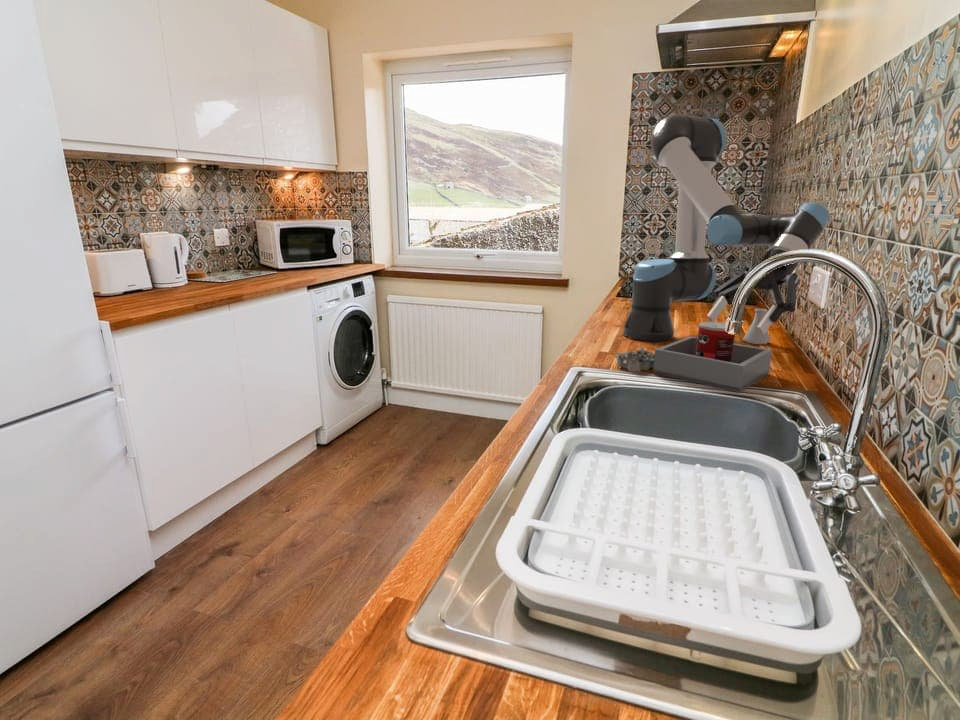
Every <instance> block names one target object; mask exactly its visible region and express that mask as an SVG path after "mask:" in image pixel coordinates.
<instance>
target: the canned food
mask: <svg viewBox="0 0 960 720" xmlns="http://www.w3.org/2000/svg"><path fill="white" fill-rule="evenodd" d="M725 323H726V322H721V321H720V322H719V321H715V322H710V321H702V322H699V326H698V331H697V337H698V338H697V347H696V355H695V356H700V357H705V358H711V359H716V360H721V361H726V362H731V357H732V351H733V344H735V343H734V342H735V335H736V334H735V335H730V334H728V333H727V332H725V331H724V325H725Z"/></svg>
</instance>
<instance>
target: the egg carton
mask: <svg viewBox="0 0 960 720" xmlns="http://www.w3.org/2000/svg"><path fill="white" fill-rule="evenodd" d="M654 357H655V352H651V351H650V350H648V351H647V350H646V349H645V348H644V347H642V348H640V349H637V350H633V351H632V350H630V351H629V352H623V353H620V352H618V353H617V352H616V354H615V355H614V358H615V359H617V362H616V366H617V368H618V367H624V368H623V369H626V368H628V369H627V370H630V371H629V372H635V371H639V372H641V370H645V371H647V370H650V368H653V367H654Z"/></svg>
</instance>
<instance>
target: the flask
mask: <svg viewBox="0 0 960 720" xmlns="http://www.w3.org/2000/svg"><path fill="white" fill-rule="evenodd" d="M754 311H755V312H754V313H755V314H754V318H753V321H752V322H751V325H750V326H749V328H748V330H747V331H746V333H745V335H744V336H743V339H742V341H744V342H745V343H749V344H752V345H753V344H754V345H768V344H767V343H770V342H771V339H770V335H769V331H768V330H769V329H768V330H767V331H766V332H765V334H764V335H763V334H761V333H760V331H759V330H758V328H757V326H758V325H759V323H760V322H761V320H762V319H763V318H764V316H765V315H766V313H767V312H768V311H769V309H768V310H767V309H765V308H755V309H754ZM770 344H771V343H770Z"/></svg>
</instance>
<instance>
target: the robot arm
mask: <svg viewBox="0 0 960 720" xmlns="http://www.w3.org/2000/svg"><path fill="white" fill-rule="evenodd" d="M727 139H728V138H727V132H726V128H725V126H724V125H723V124H722V122H721V121H719V120H718V119H716V118H712V117H709V116H697V115H685V114H676V113H675V114H671V115H668V116H666V117H665V118H663V119H662V120H660V121H659V122H658V123H657V124H656V126H655V127H654V129H653V131H652V133H651V139H650V147H651V151H652V153H653V156H654V157H655V159H656V161H657V162H658V163H659V165H660V166H661V167H665V168H667V169H668V171H669V172H670V173H671V174H672V176H673V178H674V179H675V180H676V181H677V183H678V194H677V210H676V211H677V214H676V229H675V248H674V252H673V254H671V255H670V256H669V258H657V259H647V260H641V261H639V262H637V264H636V265H635V267H634V270H633V274H632V275H633V276H632V279H633V281H632V293H631V294H632V295H631V303H630V304H631V305H630V312H629V314H628V317H627V319H626V321H625V324H624V325H623V331H622V334H624V335H626V336H628V337H627V338H629V337H631V338H630V339H633V338H635V339H634V340H638V339H639V341H648V342H662V341H672V340H673V339H674V336H675V335H674V334H675V331H674V330H675V329H674V325H673V321H672V316H671V308H672V302H679V301H680V302H681V301H692V302H693V301H696V300H701V299H704V298H706V297H708V295H709V294H710V293H711V292H712V291H713V292H714V294H715V296H716V297H717V298H716V299H715V301H714V302H713V303H712V305H711V307H712V308H711V309H710V310H709V312H708V313H707V315H706V317H707V318H708V320H709V322H716V321H717V320H718V317H719V316H720V315H721V313H722V312H723V310H724V309H725V308H726V306H727V305H728V304H729V302H728V301H729V300H731V299H733V298H735V297H734V295H735V293H736V291H737V289H738V287H739V285H740V284H741V282H742V281H743V279H744V278H745V276H746V275H747V274H748V273H749V272H750V270H751V269H749V266H744V267H743V268H742V269H741V270H740V271H739V273H737V274H736V275H734V276H733V277H731V278H730V279H729V280H726V282H724V283H723V284H721V285H719V286H718V287H717V288H716V289H714V288H715V286H716V281H717V272H716V270H715V269H714V266H713V265H712V264H711V263H710V256H709V255H708V254H707V253H706V251H705V248H706V233H707V239H708V241H709V242H710V243H711V244H713V245H715V246H721V247H734V246H735V247H736V246H737V247H738V246H757V247H758V246H760V247H762V246H770V247H769V249H768V251H766V253H765V254H764V256H763V257H762V258H761V260H760V261H759V264H760V263H761V262H762V261H764V260H766V259H768V258H769V257H771V256H774V255H776V254H779V253H782V252H786V251H790V250H797V249H811V247H812V246H813V245H814V243H815V242H816V240H817V239H818V238H819V236H820V235H821V234H822V233H823V232H824V230H825V228H826V226H827V225H828V223H829V221H830V218H831V216H830V212H829V211H828V209H827V208H826V207H825V206H824V205H822V204H819V203H818V202H805V203H804V204H802V205H801V206H800V207H799V208H797V209H796V212H793V213H786V214H775V215H774V214H772V215H751V214H750V215H748V214H747V215H746V214H745V215H743V214H742V213H741V212H740V210H739V209H738V208H737V206H736V205H735V204H734V203H733V201H732V200H731V198H730V197H729V196H728V195H727V193H726V192H725V191H724V190H723V188H722V187H721V186H720V184H719V183H718V182H717V180H716V179H715V178H714V176H713V175H712V174H711V170H712V168H713V167H715V165H716V164H717V158H719V157H720V156H721V155H722V154H723V151H724V150H725V148H726V145H727ZM799 264H800V263H794V264H789V265H786V266H782V267H780V268H777V269H775V270H773V271H772V272H770V273H769V274H767V275H766V276H765V277H763V278H762V279H761V280H760V281H759V282H758V283H757V285H756V286H755V287H754V289H753V290H755V289H757V290H758V289H759V290H765V291H770V290H772V292H773V295H774V296H773V297H774V299H775V304H776V305H774V304H772V305H771V307H770V308H769V309H768V311H767V312H766V315H765V316H764V318H763V319H762V320H761V322H760V323H759V325H758V326H757V328H758V330H759V331H760V333H761V334H763V335H764V334H765V332H766V331H767V330H769V328H770V327H771V325H772V324H773V323H776V322H778V320H779V319H780V318H781V316H782V315H783V314H784V313H785V312H790V313H793V312H795V311H796V304H797V303H796V302H797V290H798V289H797V288H798V286H799V283H800V282H801V280H800V277H799V276H798V273H797V272H794V271H795V270H796V268H797V266H798V265H799ZM786 282H787V286H786V301H784V298H783V295H782V290H781V287H780V286H781V285H782V284H783V285H784V284H785V283H786ZM713 289H714V290H713ZM624 335H623V336H624ZM626 336H625V337H626Z"/></svg>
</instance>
